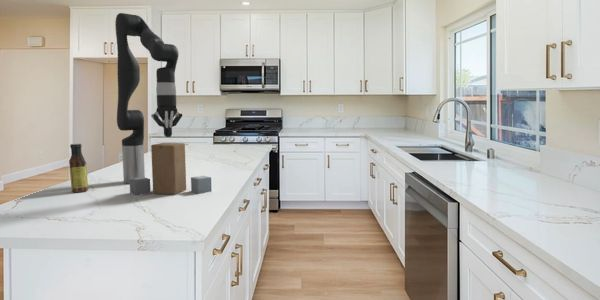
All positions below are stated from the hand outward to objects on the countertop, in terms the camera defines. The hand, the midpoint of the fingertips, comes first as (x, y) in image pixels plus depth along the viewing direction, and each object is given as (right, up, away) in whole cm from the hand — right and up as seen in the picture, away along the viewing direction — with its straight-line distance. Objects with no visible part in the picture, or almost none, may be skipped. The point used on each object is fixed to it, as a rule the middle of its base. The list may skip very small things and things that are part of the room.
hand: (168, 136), depth 174 cm
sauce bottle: (-38, -23, +4) cm, 45 cm away
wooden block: (0, -23, +3) cm, 23 cm away
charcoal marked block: (-11, -23, 0) cm, 26 cm away
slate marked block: (+13, -23, +4) cm, 26 cm away
